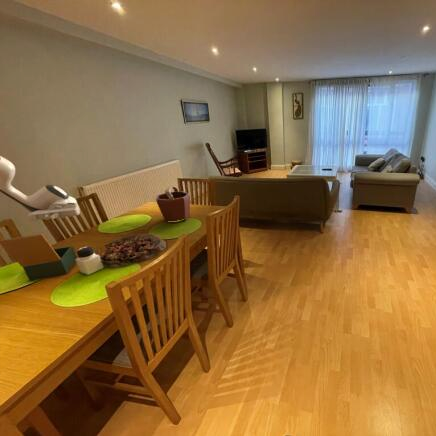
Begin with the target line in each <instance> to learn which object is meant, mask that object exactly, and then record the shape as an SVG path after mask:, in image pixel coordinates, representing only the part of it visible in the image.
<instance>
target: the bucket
mask: <svg viewBox="0 0 436 436" xmlns="http://www.w3.org/2000/svg"><path fill="white" fill-rule="evenodd" d="M172 189H173V191H171V190H172ZM155 200H156V204H157V207H158V209H159V211H160V213H161V215H162V217H163V219H164V221H165V223H168V224H169V223H170V224H178V223H177V222H175V223H174V222H168V221H177V220H182V219H186V218H187V217H188V218H187V219H186V221H187V220H188V219H189V218H190V216H191V215H190V214H191V193H189V192H187V191H183V190H182V191H181V190H180V191H179V188H178V187H177V186H175V185H170V186H168V187H166V189H165V190H164V193H160V194H157V195H156V197H155Z"/></svg>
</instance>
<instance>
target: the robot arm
mask: <svg viewBox="0 0 436 436" xmlns="http://www.w3.org/2000/svg"><path fill="white" fill-rule="evenodd" d="M15 175H16V166H15V165H14V164H13V163H12V162H11V161H10V160H8V158H5V157H4V156H2V155H0V193H1V194H3V195H5V196H7V197H8V198H9V199H11V200H13V201H15V202H16V203H18V204H19V205H21V206H22V207H23V208H25V209H26V210H27V211H29V212H30V213H27V218H28V220H29V221H30V222H35V221H43V220H46V221H50V220H51V221H52V220H54V219H65V218H67V217H75V216H79V215H81V209H80V206H79V204H78V201H77V199H76V198H74V197H73V196H71V195H69V194H68V193H67V191H66V190H64V188H61V186H58V185H54V184H45V185H44V186H43V187H41V188H40V189H38V190H36V192H34V193H33V194H31V195H26V194H24V193H23V192H21V191H20V190H18V189H17V188H15V187H14V186H13V185H12V183H13V180H14V178H15Z"/></svg>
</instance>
